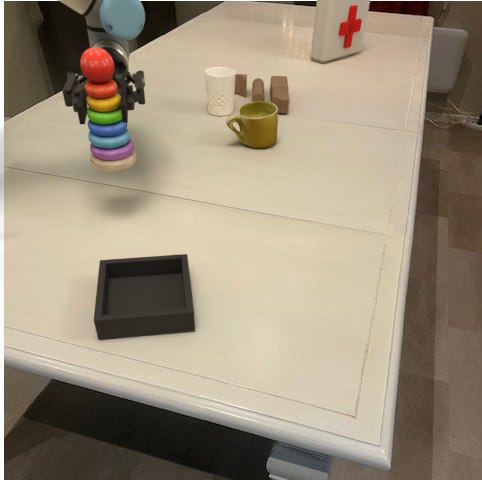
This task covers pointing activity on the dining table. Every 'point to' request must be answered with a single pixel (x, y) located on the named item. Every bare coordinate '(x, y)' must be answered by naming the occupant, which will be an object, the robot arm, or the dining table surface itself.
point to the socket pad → (143, 297)
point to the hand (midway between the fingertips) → (102, 114)
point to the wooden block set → (276, 90)
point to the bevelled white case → (338, 29)
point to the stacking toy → (105, 114)
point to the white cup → (220, 90)
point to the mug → (256, 124)
